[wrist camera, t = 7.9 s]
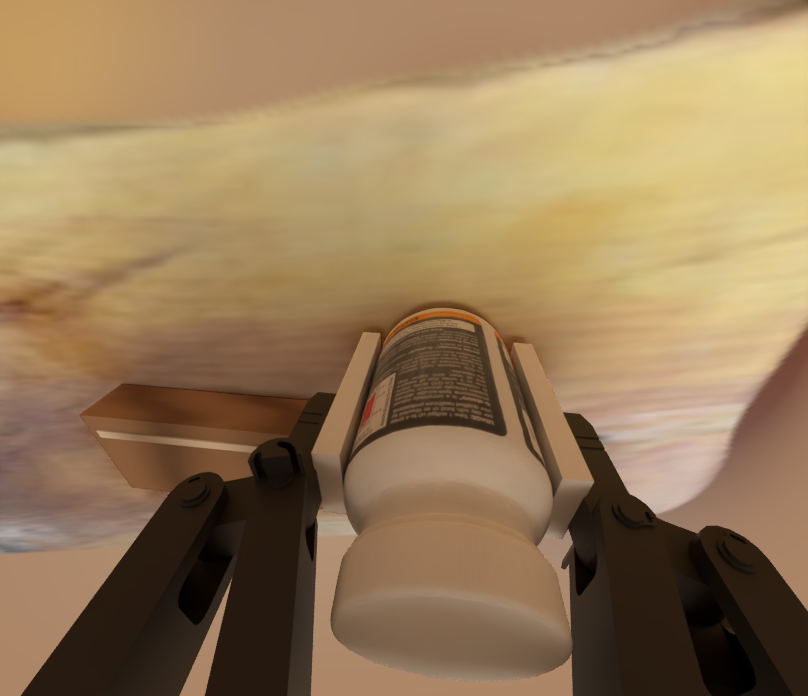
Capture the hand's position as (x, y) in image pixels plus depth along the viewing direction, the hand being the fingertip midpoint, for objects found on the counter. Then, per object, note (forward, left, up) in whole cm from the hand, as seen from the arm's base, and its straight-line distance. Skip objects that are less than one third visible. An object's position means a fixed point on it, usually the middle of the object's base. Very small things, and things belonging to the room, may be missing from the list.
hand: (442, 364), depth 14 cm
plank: (-8, -7, -1) cm, 10 cm away
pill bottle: (0, 0, -1) cm, 1 cm away
